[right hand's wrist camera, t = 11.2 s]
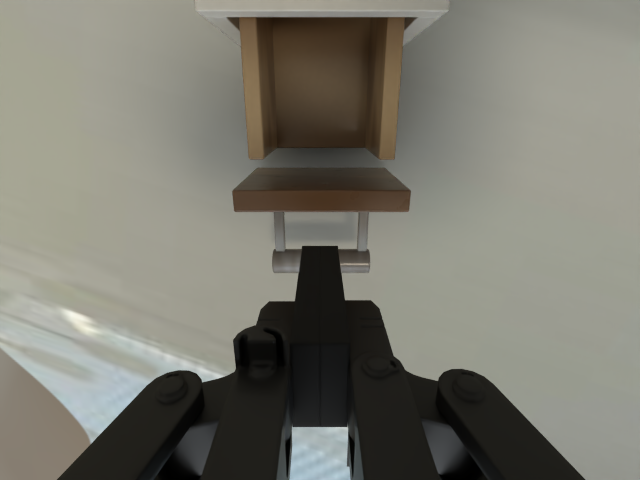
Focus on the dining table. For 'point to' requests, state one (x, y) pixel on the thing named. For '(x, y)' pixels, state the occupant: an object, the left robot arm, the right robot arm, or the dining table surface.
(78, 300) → the dining table surface
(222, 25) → the cabinet
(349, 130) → the drawer
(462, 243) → the dining table surface
